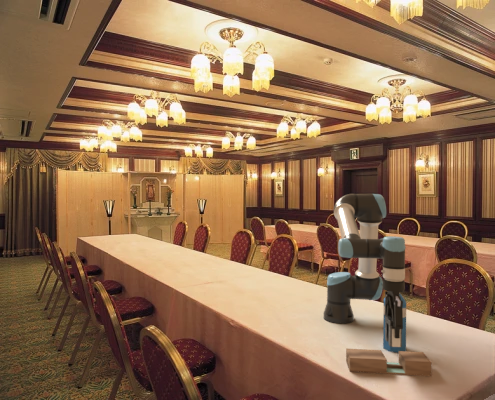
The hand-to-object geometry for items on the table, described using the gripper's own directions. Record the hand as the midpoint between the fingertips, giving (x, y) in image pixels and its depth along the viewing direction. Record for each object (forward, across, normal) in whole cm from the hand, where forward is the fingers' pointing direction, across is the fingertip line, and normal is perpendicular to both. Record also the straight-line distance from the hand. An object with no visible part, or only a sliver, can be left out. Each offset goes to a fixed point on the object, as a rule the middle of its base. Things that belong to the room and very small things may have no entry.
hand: (393, 342), depth 132 cm
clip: (0, 0, 0) cm, 0 cm away
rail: (+10, 0, -2) cm, 10 cm away
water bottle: (+10, -19, +6) cm, 23 cm away
